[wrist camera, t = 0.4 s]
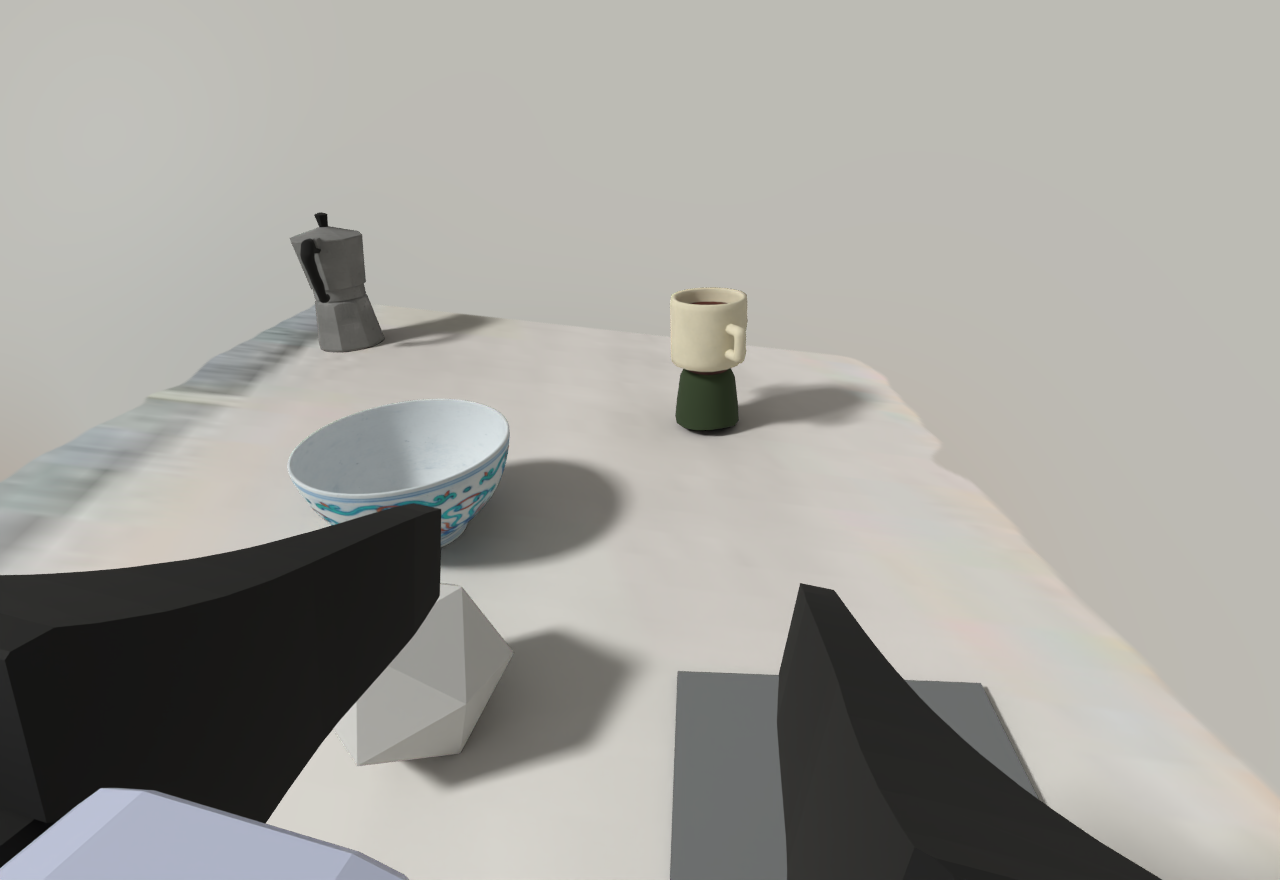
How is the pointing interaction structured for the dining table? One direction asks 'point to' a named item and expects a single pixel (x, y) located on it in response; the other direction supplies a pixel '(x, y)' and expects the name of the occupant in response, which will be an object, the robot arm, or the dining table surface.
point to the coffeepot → (338, 287)
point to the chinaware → (404, 461)
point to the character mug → (708, 354)
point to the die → (429, 687)
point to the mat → (772, 769)
